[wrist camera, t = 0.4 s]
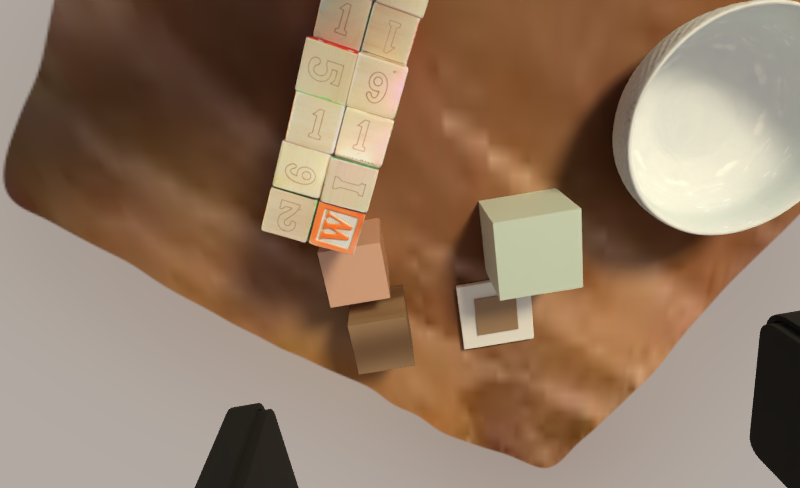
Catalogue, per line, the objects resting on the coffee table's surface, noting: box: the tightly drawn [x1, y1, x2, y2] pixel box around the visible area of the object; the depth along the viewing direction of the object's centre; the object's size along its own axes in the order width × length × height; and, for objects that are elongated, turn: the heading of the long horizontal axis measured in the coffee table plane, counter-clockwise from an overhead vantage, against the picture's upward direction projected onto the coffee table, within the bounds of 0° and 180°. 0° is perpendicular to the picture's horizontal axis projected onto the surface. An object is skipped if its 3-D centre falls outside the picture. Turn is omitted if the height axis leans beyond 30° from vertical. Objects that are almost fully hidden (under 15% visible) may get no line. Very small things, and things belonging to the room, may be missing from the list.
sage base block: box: [478, 188, 583, 301], centre depth 43 cm, size 7×7×6 cm
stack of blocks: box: [261, 0, 429, 255], centre depth 34 cm, size 21×6×12 cm, turn 162°
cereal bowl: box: [612, 0, 800, 235], centre depth 39 cm, size 17×17×7 cm
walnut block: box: [348, 285, 415, 375], centre depth 45 cm, size 5×5×6 cm
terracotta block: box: [317, 218, 390, 308], centre depth 43 cm, size 5×5×6 cm
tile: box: [456, 280, 534, 349], centre depth 48 cm, size 7×7×1 cm
